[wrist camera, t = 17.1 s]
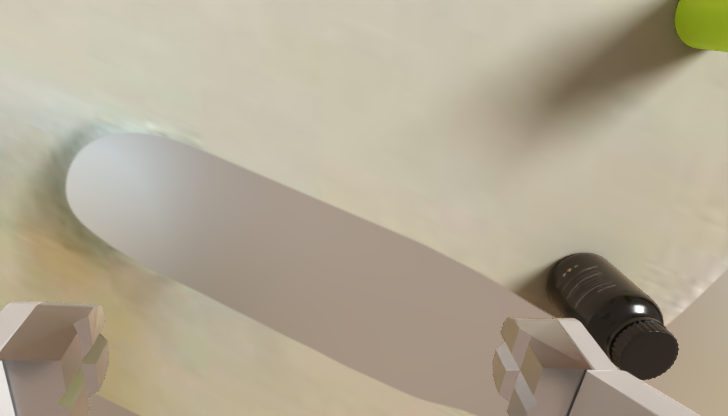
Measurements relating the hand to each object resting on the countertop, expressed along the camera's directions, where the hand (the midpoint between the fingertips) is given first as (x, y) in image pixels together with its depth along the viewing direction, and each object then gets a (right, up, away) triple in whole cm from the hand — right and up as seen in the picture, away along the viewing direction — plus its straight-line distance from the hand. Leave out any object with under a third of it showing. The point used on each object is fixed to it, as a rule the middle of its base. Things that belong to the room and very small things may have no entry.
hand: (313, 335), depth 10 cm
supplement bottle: (+22, -4, +40) cm, 46 cm away
